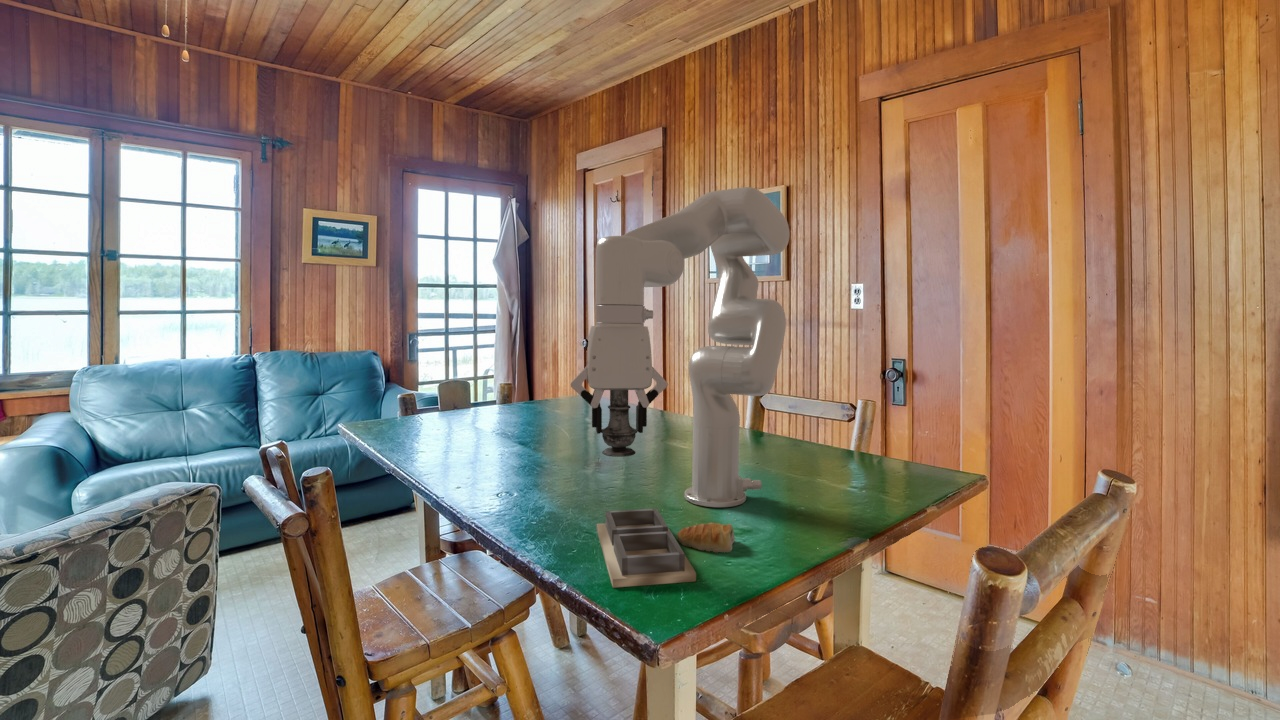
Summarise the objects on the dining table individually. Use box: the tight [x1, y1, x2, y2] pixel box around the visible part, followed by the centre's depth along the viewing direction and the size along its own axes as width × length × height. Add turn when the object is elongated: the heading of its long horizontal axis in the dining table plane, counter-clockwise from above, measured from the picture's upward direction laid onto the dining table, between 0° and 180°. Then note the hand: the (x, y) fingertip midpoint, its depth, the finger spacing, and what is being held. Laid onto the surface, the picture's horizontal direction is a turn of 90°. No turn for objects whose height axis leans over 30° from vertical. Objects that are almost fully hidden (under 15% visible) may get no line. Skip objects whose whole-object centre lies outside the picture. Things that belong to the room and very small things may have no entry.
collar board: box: [596, 508, 697, 589], centre depth 94 cm, size 12×22×4 cm, turn 10°
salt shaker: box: [601, 390, 639, 458], centre depth 93 cm, size 6×6×12 cm
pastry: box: [676, 522, 736, 554], centre depth 98 cm, size 9×7×4 cm
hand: (619, 430), depth 93 cm, fingers closed on salt shaker, 5 cm apart
